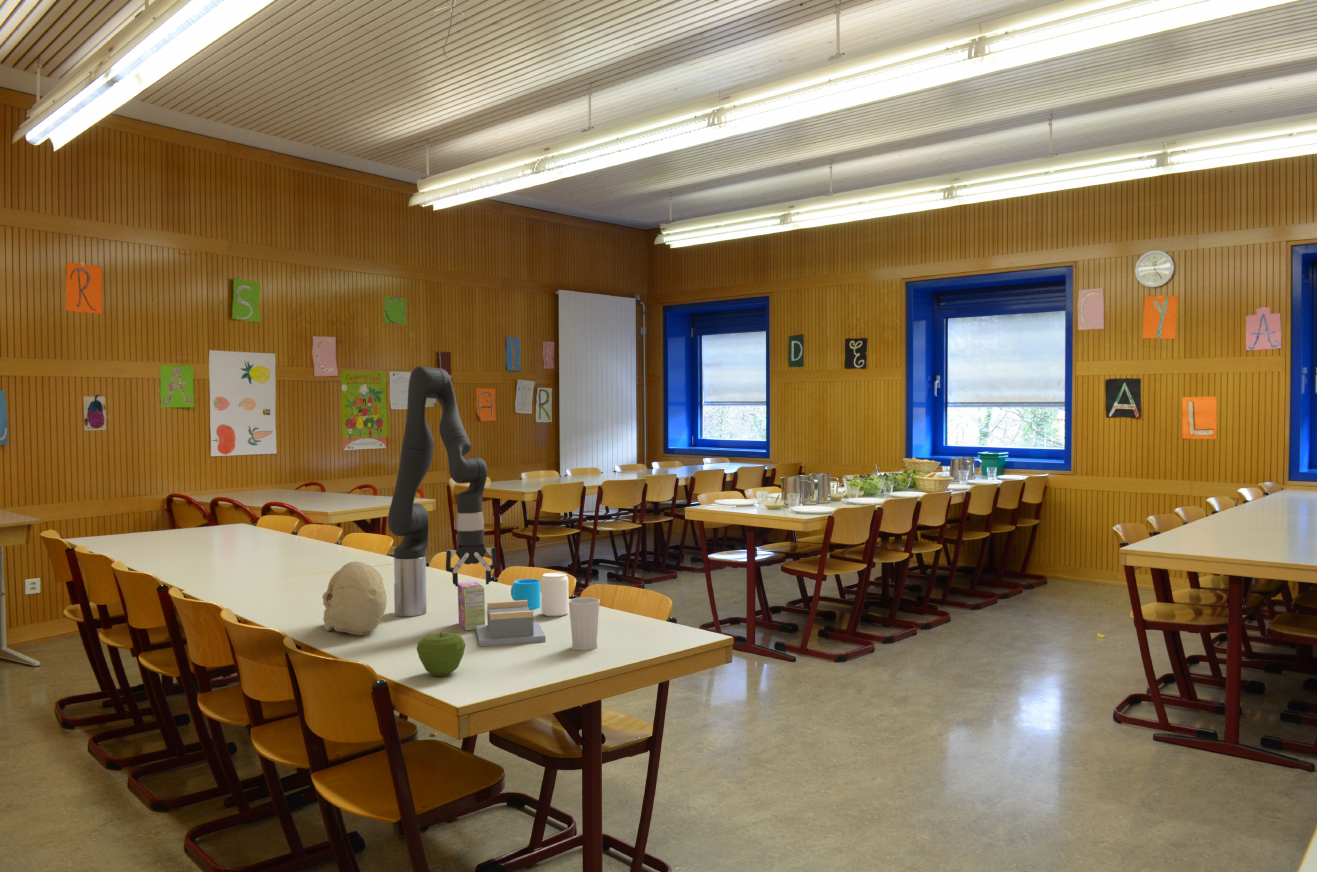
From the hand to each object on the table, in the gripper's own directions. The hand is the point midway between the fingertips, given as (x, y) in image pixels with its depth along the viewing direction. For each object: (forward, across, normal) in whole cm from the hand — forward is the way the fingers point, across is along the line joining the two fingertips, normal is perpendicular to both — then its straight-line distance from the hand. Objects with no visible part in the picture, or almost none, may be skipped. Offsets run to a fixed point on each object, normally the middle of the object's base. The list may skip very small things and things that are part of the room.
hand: (472, 585), depth 251 cm
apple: (+12, -10, -46) cm, 48 cm away
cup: (+13, +26, -32) cm, 43 cm away
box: (+12, 0, 0) cm, 12 cm away
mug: (+12, +17, +22) cm, 30 cm away
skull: (+11, -33, +5) cm, 35 cm away
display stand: (+12, +9, -15) cm, 21 cm away
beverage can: (+12, +24, +8) cm, 29 cm away
